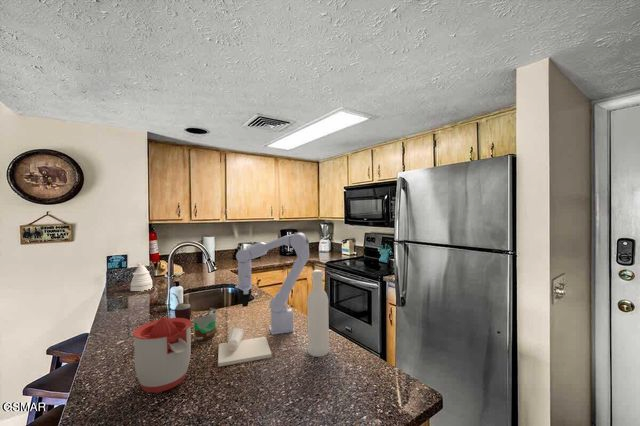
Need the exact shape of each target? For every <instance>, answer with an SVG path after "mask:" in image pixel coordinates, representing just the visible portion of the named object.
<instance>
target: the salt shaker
mask: <svg viewBox="0 0 640 426" xmlns="http://www.w3.org/2000/svg"><path fill="white" fill-rule="evenodd" d="M243 332H244V331H243V330H242V329H241V328H239V327H233V328H232V330H230V332H229V335H228V341H227V342H228V350H229V351H234V350H235V349H236V347H237V346H238V344H239V343H240V341H241V340H243V336H244V335H243V334H244V333H243Z"/></svg>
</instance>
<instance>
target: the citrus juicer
mask: <svg viewBox="0 0 640 426" xmlns="http://www.w3.org/2000/svg"><path fill="white" fill-rule="evenodd" d="M191 326H192V321H191V319H190V320H188V319H185V318H176V317H165V316H163V317H161V318H160V319H158V320H154V321H150V322H147V323H144V324H142V325H140V326H138V327H137V328H136V329H134V331H133V333H132V336H133V337H134V338H133V340H134V343H133V345H134V350H133V351H134V369H135V374H136V377H137V380H138V383H139V385H140V387H141V389H142V391H144V392H146V393H150V394H151V393H152V394H153V393H162V392H164V391H169V390H171V389H173V388H175V387H177V386H179V385H180V384H181V383H182V382H183V381H184V379H186V375H187V373H188V370H189V364H190V360H191V355H192V354H191V351H192V348H191V344H192V343H191V342H192V340H191V335H192V334H191V333H192V332H191Z"/></svg>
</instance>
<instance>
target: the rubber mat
mask: <svg viewBox="0 0 640 426" xmlns="http://www.w3.org/2000/svg"><path fill="white" fill-rule="evenodd" d="M217 353H218V355H217V356H218V358H217V367H218V368H219V367H223V366H230V365H236V364H241V363H242V364H243V363H248V362H252V361H258V360H264V359H269V358H270V359H271V358H272V355H273V354H272V351H271V348H270V345H269V343H268V339H267V336H262V337H261V336H260V337H255V338H249V339H248V338H247V339H241V341H240V343H239V344H238V346H237V347H236V349H235V350H234V351H229V350H228V341H227V342H222V343H218V352H217Z"/></svg>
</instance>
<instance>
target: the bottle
mask: <svg viewBox="0 0 640 426" xmlns="http://www.w3.org/2000/svg"><path fill="white" fill-rule="evenodd" d="M311 276H312V289H311V291H310V292H309V293H308V296H307V299H306V300H307V301H306V302H307V303H306V304H307V305H306V308H307V353H308V354H309V355H310V356H312V357H315V358H317V357H324V356H327V355H328V354H329V353H330V352H329V351H330V340H329V338H330V336H329V335H330V333H329V331H330V329H329V327H330V326H329V325H330V324H329V319H330V318H329V297H328V294H327V292H326V291H325V290H324V289H323V276H324V275H323V270H321V269H314V270H312V274H311Z"/></svg>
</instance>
